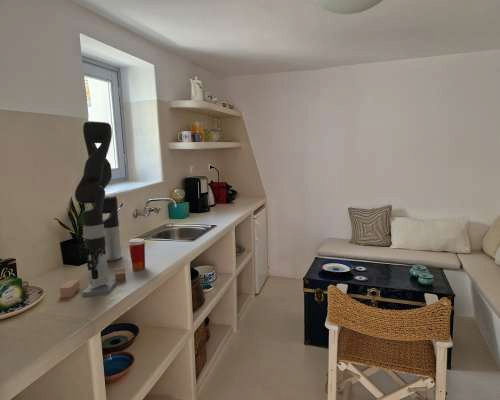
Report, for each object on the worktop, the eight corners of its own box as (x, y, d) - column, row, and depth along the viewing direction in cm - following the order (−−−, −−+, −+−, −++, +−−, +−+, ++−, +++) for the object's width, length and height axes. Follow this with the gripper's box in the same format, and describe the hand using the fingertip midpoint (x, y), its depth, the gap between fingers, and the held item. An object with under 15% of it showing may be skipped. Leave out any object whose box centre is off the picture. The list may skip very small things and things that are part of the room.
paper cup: (139, 265, 167) (137, 237, 165) (150, 267, 163) (148, 239, 161) (126, 270, 160) (124, 241, 158) (137, 272, 156) (135, 243, 154)
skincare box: (104, 280, 142) (101, 252, 140) (109, 283, 139) (106, 254, 137) (89, 285, 137) (86, 256, 135) (94, 287, 134) (91, 258, 133)
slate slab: (91, 287, 143) (91, 282, 142) (116, 285, 144) (116, 280, 143) (82, 297, 133) (82, 292, 133) (109, 295, 134) (108, 290, 134)
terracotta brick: (69, 289, 140) (68, 280, 139) (80, 289, 140) (79, 279, 140) (60, 298, 132) (59, 288, 131) (71, 297, 132) (70, 287, 132)
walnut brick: (115, 277, 152) (114, 268, 152) (125, 275, 154) (124, 267, 153) (116, 283, 145) (115, 274, 144) (125, 281, 147) (125, 272, 146)
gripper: (91, 231, 142) (95, 269, 144) (77, 240, 128) (81, 282, 130) (110, 230, 142) (113, 268, 145) (97, 239, 128) (102, 281, 131)
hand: (98, 275), depth 137 cm, fingers closed on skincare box, 7 cm apart
